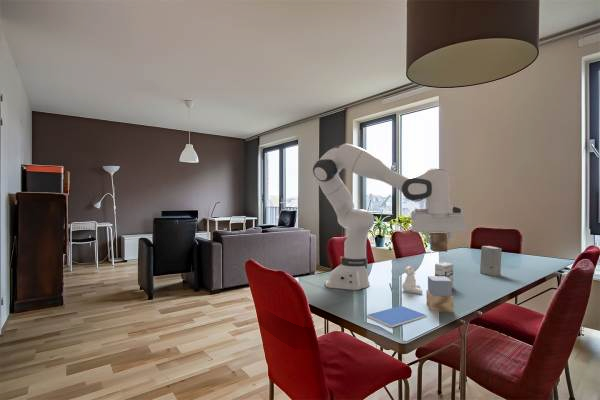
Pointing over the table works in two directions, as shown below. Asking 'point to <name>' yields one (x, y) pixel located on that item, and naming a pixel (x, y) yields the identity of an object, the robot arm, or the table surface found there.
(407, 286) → the seated beast figurine
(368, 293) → the table surface
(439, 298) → the oak block
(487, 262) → the skincare box
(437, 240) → the walnut block
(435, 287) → the slate block
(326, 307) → the table surface
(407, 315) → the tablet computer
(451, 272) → the ink box
